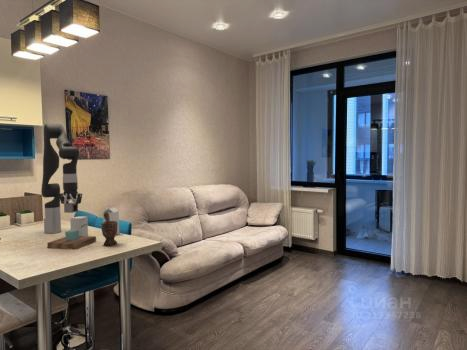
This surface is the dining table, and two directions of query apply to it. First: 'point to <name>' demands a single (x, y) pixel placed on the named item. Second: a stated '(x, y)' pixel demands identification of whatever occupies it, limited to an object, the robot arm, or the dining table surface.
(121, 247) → the dining table surface
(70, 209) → the charcoal block
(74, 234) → the teal block
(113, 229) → the mortar and pestle
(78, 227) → the supplement box
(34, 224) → the dining table surface
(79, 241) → the walnut base
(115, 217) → the milk carton
